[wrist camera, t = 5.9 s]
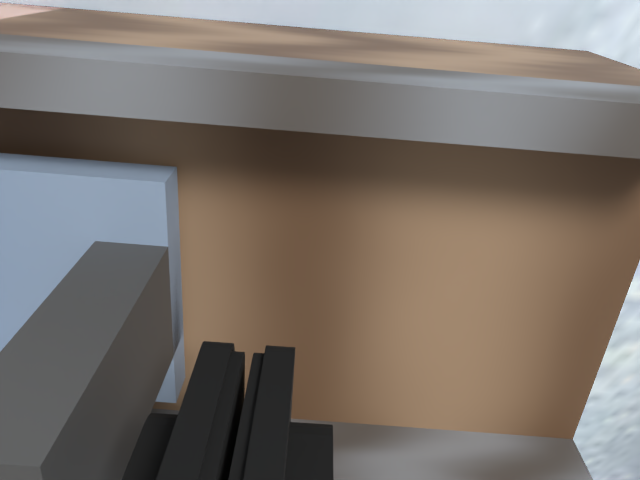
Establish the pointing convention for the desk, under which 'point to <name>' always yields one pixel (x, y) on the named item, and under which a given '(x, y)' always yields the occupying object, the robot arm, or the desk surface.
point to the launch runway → (369, 217)
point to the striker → (85, 312)
